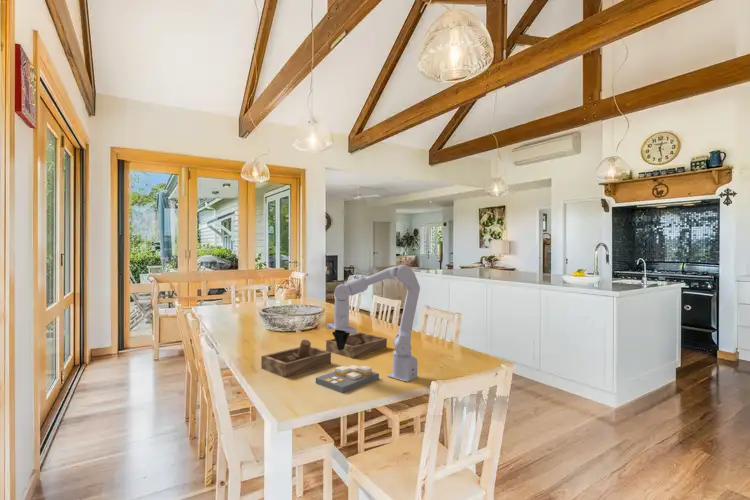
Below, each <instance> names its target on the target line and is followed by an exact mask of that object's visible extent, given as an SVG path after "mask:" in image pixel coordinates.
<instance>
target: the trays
mask: <svg viewBox="0 0 750 500" xmlns="http://www.w3.org/2000/svg"><path fill="white" fill-rule="evenodd" d="M351 337H379V338H359V339H360V340H363V341H361V342H360V343H359V344H358V345H356V346H350V345H347V341H348V340H349V339H350V338H351ZM387 340H388V339H387V337H383V336H378V335H374V334H369V333H365V332H356V334H351V333H350V335H349V336H348V338H347V340H346V343H345V347H344V349H343V350H338V347H337V343H336V340H335V338H334V337H333V338H331V339H327V340H326V341H325V342H326V343H325V344H326V346H325V349H322V348H318V347H314V346H311V345H310V348H309V352H308V355H307V357H306V358H302V359H299V360H295V361H291V362H288V363H285V360H286V357H287V356H290V355H292V353H296V354H298V351H299V347H300V346H297V347H294V348H289V349H285V350H281V351H277V352H273V353H269V354H265V355H264V354H263V355H261V362H260V363H261V369H262V370H265V371H267V372H271V373H273V374H276V375H278V376H280V377H284V378H287V377H291V376H295V375H298V374H300V373H304V372H308V371H310V370H311V371H312V370H314V369H316V368H321V367H324V366H327V365H331V364H332V353H333V354H336V355H340V356H343V357H348V358H350V359H356V358H360V357H362V356H363V357H364V356H366V355H369V354H372V353H375V352H378V351H379V352H380V351H382V349H383V350H385V349H384V348H386V349H387V345H388V344H387V343H388V341H387ZM364 341H365V342H364Z"/></svg>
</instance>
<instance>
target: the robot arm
mask: <svg viewBox="0 0 750 500" xmlns="http://www.w3.org/2000/svg"><path fill="white" fill-rule="evenodd" d="M387 279H388V280H396V279H397V280H398V281H399V282H400V283H401V284H403V286H404V287H405V288H406V295H405V300H404V304H403V310H402V314H401V319H400V323H399V328H398V330H397V334H396V336H395V337H394V338H393V346H394V350H393V351H392V373H389V374H387V377H389V378H393V379H395V380H398V379H399V380H400V381H401V382H405V381H406V383H408V382H410V381H412V380H415V379H417V378H419V375H418V366H419V365H418V364H419V363H418V359H417V357H415V356H413V355H412V344H411V340H412V331H413V330H412V329H413V324H414V320H415V315H416V309H417V306H418V300H419V295H420V290H421V286H420V283H419V281H418V278H417V276H416V273H415V272H414V271H413V269H412V268H411V267H410V266H408V265H406V264H401V263H400V264H398V265H394V266H390V267H388V268H385V269H383V270H381V271H379V272H377V273H374V274H372V275H369V276H367V277H364V276H362V275H360V276H358V275H357V276H355V278H353V279H351V280H348V281H344V282H343V283H340V284H338V285H337V286H336V287H335V289H334V292H333V293H334V297H335V298H334V306H333V307H334V308H333V309H334V313H333V322H334V323H332V322H330V323H326V329H328V330H329V329H330V330H334V331H332V336H333V339H334V338H335V340H336V343H337V347H338V350H343V349H344V347H345V343H346V340H347V338H348V336H349V335H351V334H356V333H357V331H358V329H357V328H355V327H352V326H350V324H349V323H350V322H349V321H350V303H349V297H350V296H355V295H358V294H359V293H362V292H364V291H367V290H368V287H369V286H371V285H374V284H376V283H378V282H379V283H380V282H381V281H384V280H387ZM414 378H415V379H414Z"/></svg>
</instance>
